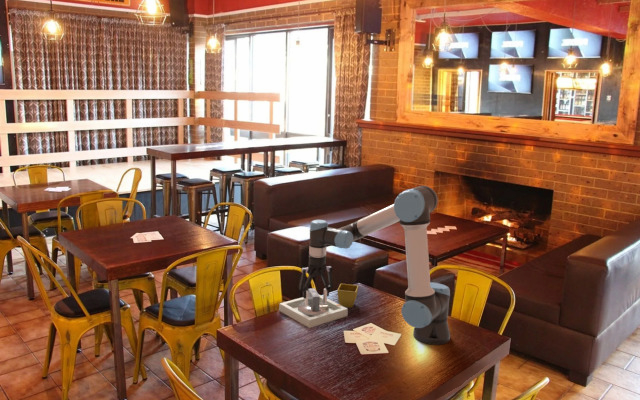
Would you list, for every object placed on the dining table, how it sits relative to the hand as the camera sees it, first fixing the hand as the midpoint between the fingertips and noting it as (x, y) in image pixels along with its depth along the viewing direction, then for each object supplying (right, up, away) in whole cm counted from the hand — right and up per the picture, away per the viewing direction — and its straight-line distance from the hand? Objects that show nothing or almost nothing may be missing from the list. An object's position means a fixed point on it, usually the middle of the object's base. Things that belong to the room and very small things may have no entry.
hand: (315, 303), depth 253 cm
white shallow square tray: (-1, -5, +4) cm, 6 cm away
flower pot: (+15, -4, +15) cm, 21 cm away
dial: (-1, -4, +4) cm, 5 cm away
